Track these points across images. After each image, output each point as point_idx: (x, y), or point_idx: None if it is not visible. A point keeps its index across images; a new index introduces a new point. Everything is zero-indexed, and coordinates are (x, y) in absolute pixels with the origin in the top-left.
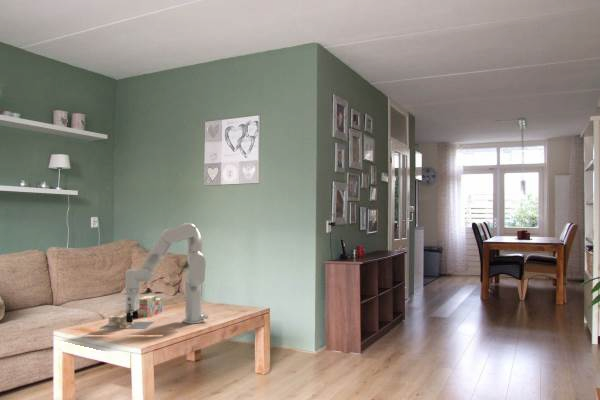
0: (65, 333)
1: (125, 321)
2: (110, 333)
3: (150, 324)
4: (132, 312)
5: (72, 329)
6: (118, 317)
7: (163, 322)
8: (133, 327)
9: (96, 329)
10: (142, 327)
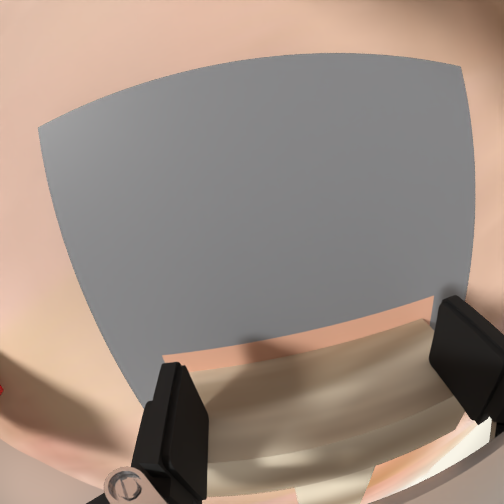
0: (425, 472)
1: None
2: None
3: (213, 75)
4: (201, 496)
5: (362, 499)
6: (367, 480)
7: (6, 69)
8: (422, 241)
9: None
10: (416, 118)
